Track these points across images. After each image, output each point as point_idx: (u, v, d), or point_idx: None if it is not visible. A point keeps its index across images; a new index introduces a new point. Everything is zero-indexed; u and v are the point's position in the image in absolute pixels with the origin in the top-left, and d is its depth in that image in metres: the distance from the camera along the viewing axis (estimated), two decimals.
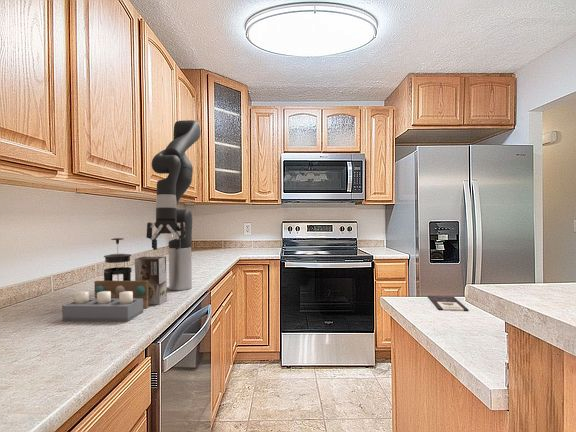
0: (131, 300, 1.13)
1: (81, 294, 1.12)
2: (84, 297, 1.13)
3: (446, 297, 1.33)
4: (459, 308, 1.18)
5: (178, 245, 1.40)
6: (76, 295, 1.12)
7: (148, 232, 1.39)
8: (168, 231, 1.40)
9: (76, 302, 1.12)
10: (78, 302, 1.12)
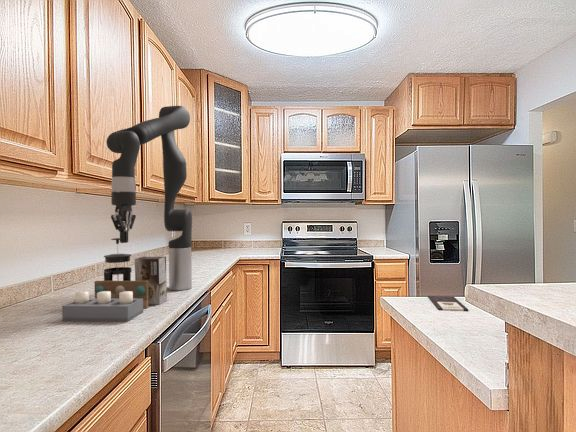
0: (131, 300, 1.13)
1: (81, 294, 1.12)
2: (84, 297, 1.13)
3: (446, 297, 1.33)
4: (459, 308, 1.19)
5: None
6: (76, 295, 1.12)
7: (122, 224, 1.20)
8: None
9: (76, 302, 1.12)
10: (78, 302, 1.12)
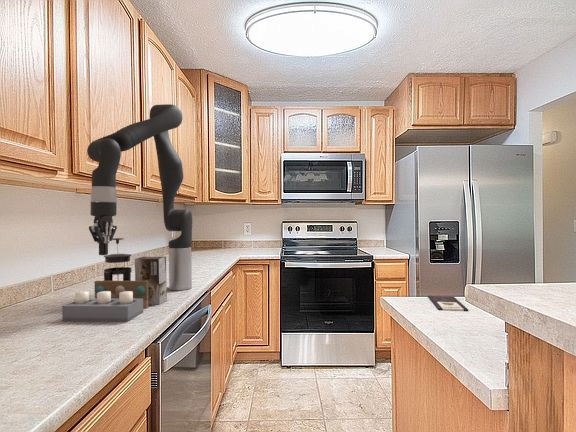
0: (131, 300, 1.13)
1: (81, 294, 1.12)
2: (84, 297, 1.13)
3: (446, 297, 1.33)
4: (459, 308, 1.19)
5: None
6: (76, 295, 1.12)
7: (101, 235, 1.15)
8: None
9: (76, 302, 1.12)
10: (78, 302, 1.12)
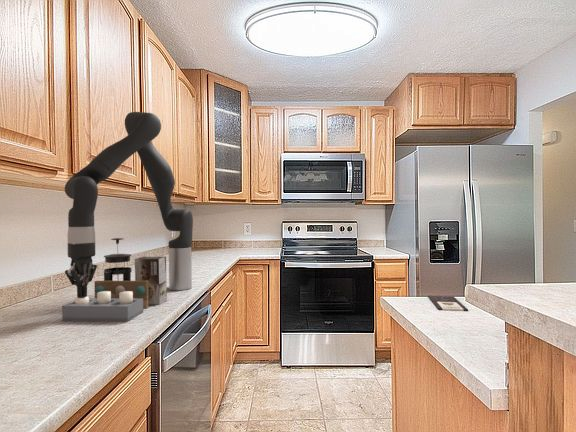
0: (131, 300, 1.13)
1: (81, 299, 1.12)
2: (84, 303, 1.13)
3: (446, 297, 1.33)
4: (459, 308, 1.19)
5: None
6: (76, 300, 1.12)
7: (78, 279, 1.10)
8: None
9: None
10: None
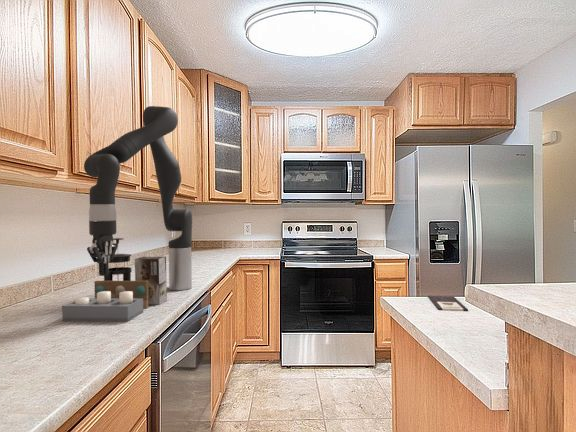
0: (131, 300, 1.13)
1: (81, 300, 1.12)
2: None
3: (446, 297, 1.33)
4: (459, 308, 1.19)
5: None
6: (76, 301, 1.12)
7: (100, 256, 1.10)
8: None
9: None
10: None
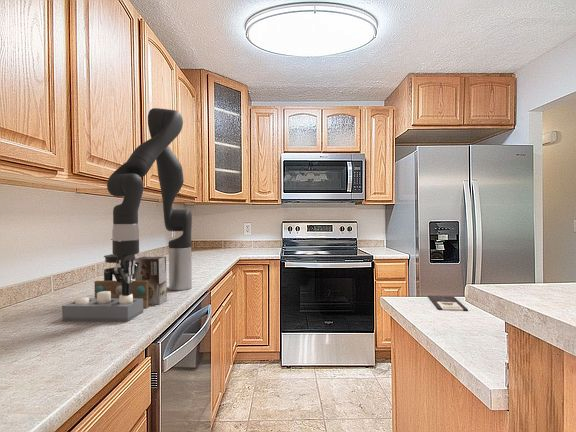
0: None
1: (81, 300, 1.12)
2: None
3: (446, 297, 1.33)
4: (458, 308, 1.19)
5: None
6: (76, 301, 1.12)
7: (124, 276, 1.09)
8: None
9: None
10: None
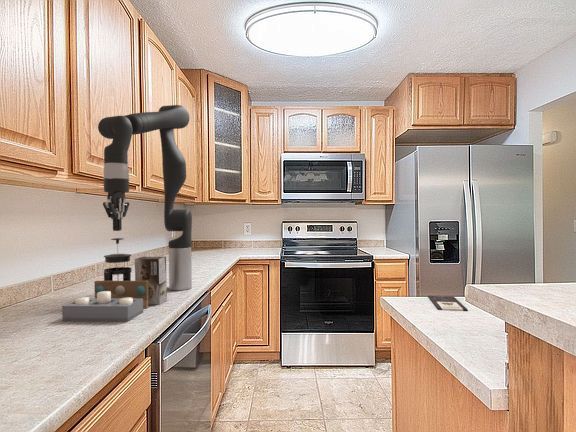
0: None
1: (81, 300, 1.12)
2: None
3: (446, 297, 1.34)
4: (458, 308, 1.19)
5: None
6: (76, 301, 1.12)
7: (114, 211, 1.17)
8: None
9: None
10: None
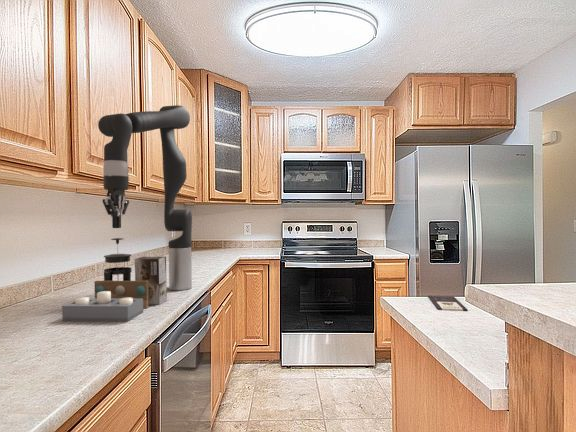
0: None
1: (81, 300, 1.12)
2: None
3: (446, 297, 1.34)
4: (458, 308, 1.19)
5: None
6: (76, 301, 1.12)
7: (114, 208, 1.18)
8: None
9: None
10: None
